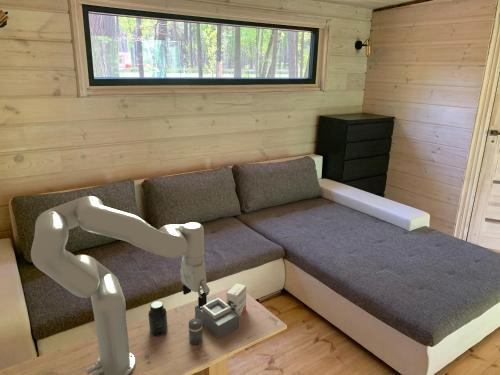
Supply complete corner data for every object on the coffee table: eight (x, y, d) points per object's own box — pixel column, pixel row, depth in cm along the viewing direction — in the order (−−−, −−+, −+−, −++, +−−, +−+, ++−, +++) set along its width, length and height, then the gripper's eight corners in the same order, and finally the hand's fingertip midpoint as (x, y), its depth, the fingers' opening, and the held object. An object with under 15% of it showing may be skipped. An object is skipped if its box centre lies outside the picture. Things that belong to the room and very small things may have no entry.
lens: (194, 347, 137) (193, 329, 135) (186, 339, 141) (185, 322, 138) (205, 340, 141) (205, 323, 138) (197, 333, 144) (197, 316, 142)
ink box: (236, 305, 161) (236, 282, 157) (246, 309, 159) (246, 285, 155) (226, 316, 154) (226, 292, 150) (236, 320, 152) (236, 296, 148)
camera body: (238, 327, 148) (239, 310, 146) (218, 338, 142) (218, 321, 139) (214, 307, 159) (214, 292, 157) (195, 317, 153) (194, 301, 150)
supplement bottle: (170, 325, 148) (168, 299, 145) (164, 337, 142) (162, 310, 138) (153, 323, 149) (151, 298, 145) (147, 335, 143) (144, 309, 139)
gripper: (171, 251, 133) (173, 292, 139) (198, 271, 121) (199, 315, 127) (188, 245, 138) (190, 285, 144) (217, 263, 126) (217, 306, 131)
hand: (194, 299), depth 135 cm, fingers open, 9 cm apart
